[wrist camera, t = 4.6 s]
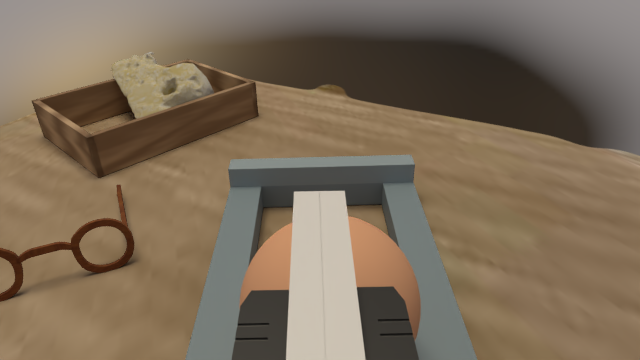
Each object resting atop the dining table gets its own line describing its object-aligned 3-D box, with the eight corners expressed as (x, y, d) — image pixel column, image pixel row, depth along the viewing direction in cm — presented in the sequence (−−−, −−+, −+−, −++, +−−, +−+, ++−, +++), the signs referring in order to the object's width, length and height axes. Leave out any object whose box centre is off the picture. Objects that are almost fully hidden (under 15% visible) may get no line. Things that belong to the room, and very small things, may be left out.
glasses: (-36, 316, 38) (-63, 266, 35) (-16, 226, 48) (-36, 183, 45) (140, 266, 42) (127, 219, 40) (124, 194, 52) (113, 153, 50)
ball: (445, 359, 30) (467, 227, 25) (336, 484, 24) (335, 343, 18) (326, 282, 36) (324, 164, 31) (215, 366, 30) (189, 235, 24)
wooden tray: (258, 115, 69) (255, 82, 66) (98, 177, 55) (87, 137, 52) (193, 89, 79) (188, 59, 76) (43, 135, 65) (31, 100, 62)
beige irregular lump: (227, 153, 65) (229, 59, 70) (196, 130, 58) (201, 29, 64) (133, 173, 69) (142, 83, 75) (95, 154, 63) (108, 57, 69)
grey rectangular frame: (510, 502, 25) (527, 453, 23) (160, 514, 25) (143, 465, 23) (407, 192, 51) (411, 154, 48) (235, 197, 51) (231, 159, 48)
